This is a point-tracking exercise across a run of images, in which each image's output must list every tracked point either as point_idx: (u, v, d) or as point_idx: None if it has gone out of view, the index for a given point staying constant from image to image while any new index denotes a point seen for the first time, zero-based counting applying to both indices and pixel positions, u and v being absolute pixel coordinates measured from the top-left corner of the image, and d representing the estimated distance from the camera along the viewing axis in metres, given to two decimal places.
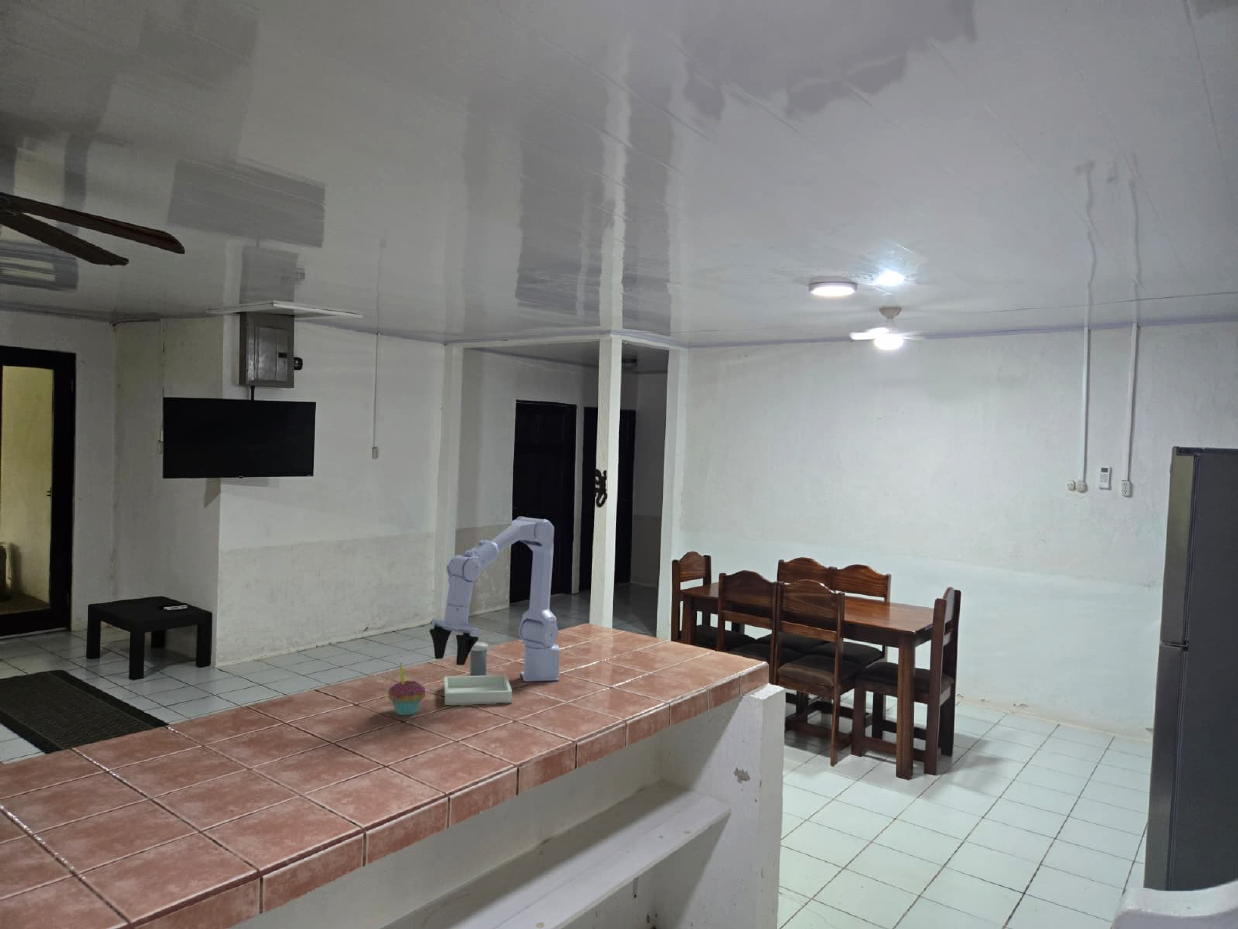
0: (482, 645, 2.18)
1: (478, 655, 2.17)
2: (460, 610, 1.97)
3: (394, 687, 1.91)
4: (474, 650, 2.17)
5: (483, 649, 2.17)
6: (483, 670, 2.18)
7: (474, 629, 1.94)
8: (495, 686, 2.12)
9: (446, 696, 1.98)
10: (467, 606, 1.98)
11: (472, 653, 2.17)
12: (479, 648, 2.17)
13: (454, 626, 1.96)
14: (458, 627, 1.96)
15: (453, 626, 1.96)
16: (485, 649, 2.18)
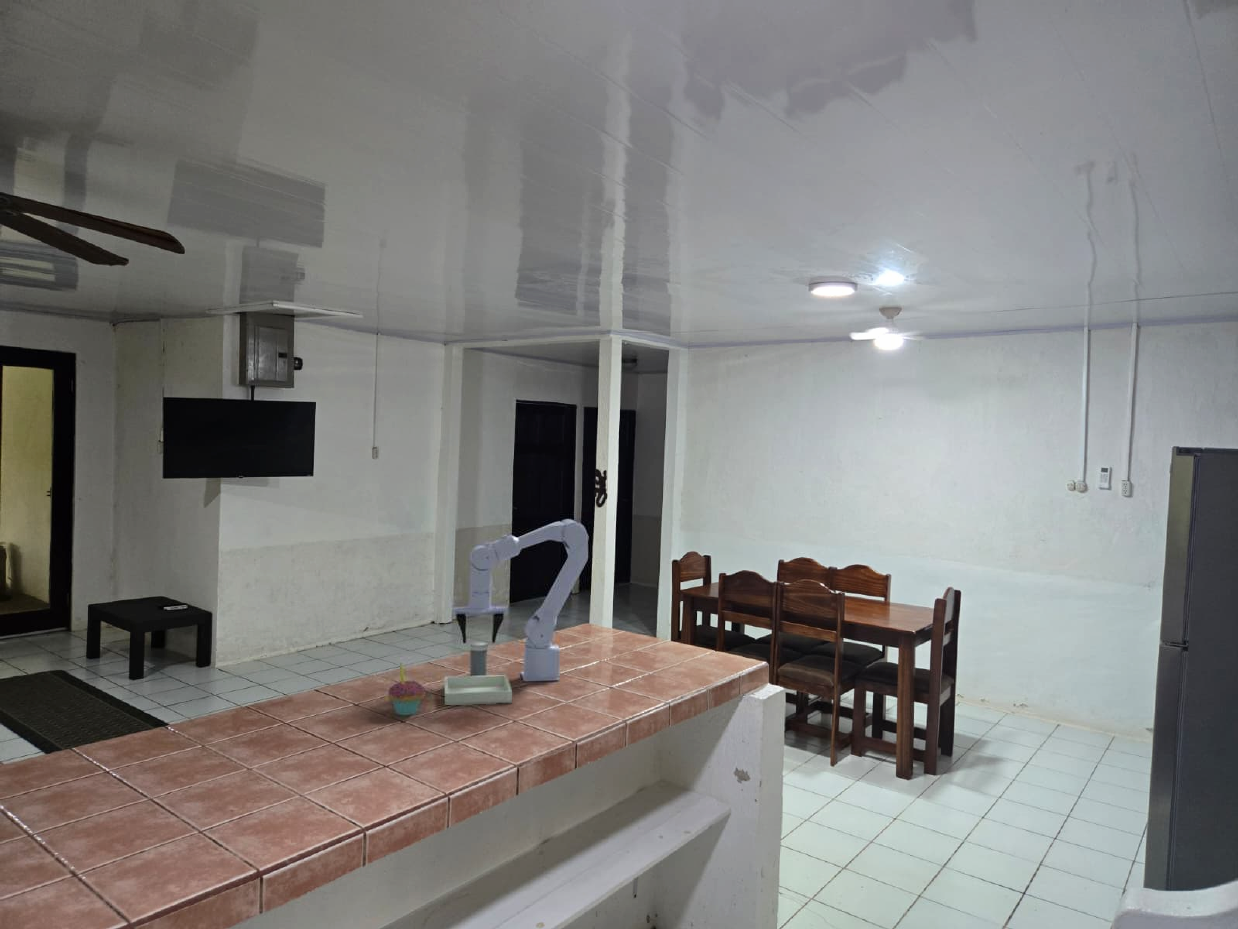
0: (482, 645, 2.18)
1: (478, 655, 2.17)
2: (490, 595, 2.18)
3: (394, 687, 1.91)
4: (474, 650, 2.17)
5: (483, 649, 2.17)
6: (483, 670, 2.18)
7: None
8: (495, 686, 2.12)
9: (446, 696, 1.98)
10: None
11: (472, 653, 2.17)
12: (479, 648, 2.17)
13: (489, 610, 2.17)
14: (493, 610, 2.17)
15: (488, 611, 2.17)
16: (485, 649, 2.18)
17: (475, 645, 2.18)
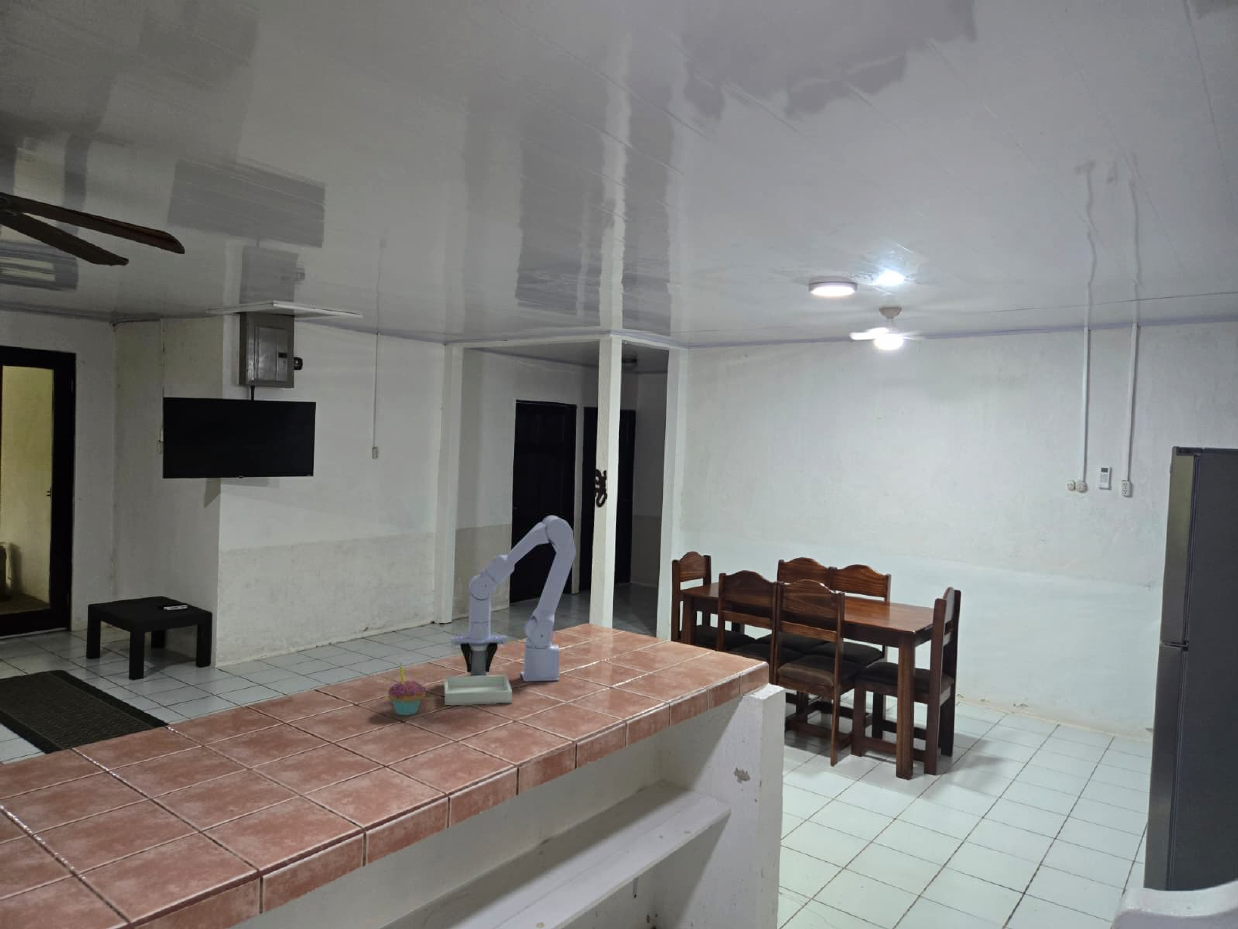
0: (482, 645, 2.18)
1: (478, 655, 2.17)
2: (489, 625, 2.18)
3: (394, 687, 1.91)
4: (474, 650, 2.17)
5: (483, 649, 2.17)
6: (483, 670, 2.18)
7: (506, 638, 2.20)
8: (495, 686, 2.12)
9: (446, 696, 1.98)
10: None
11: (472, 653, 2.17)
12: (479, 648, 2.17)
13: (488, 640, 2.17)
14: (492, 640, 2.18)
15: (487, 640, 2.17)
16: (485, 649, 2.18)
17: (475, 645, 2.18)
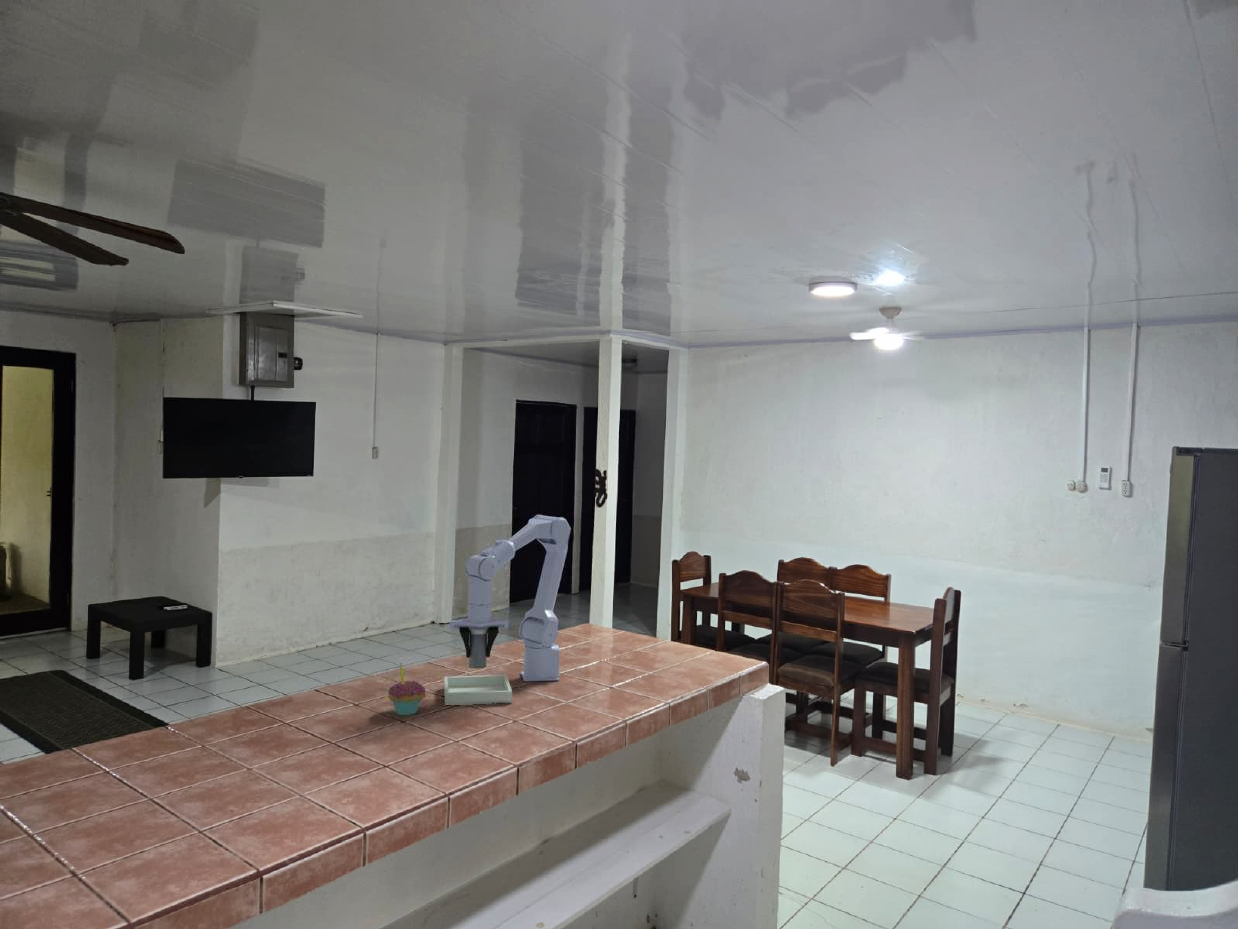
0: (482, 628, 2.07)
1: (478, 638, 2.06)
2: (489, 607, 2.06)
3: (394, 687, 1.91)
4: (473, 633, 2.06)
5: (483, 632, 2.06)
6: (483, 655, 2.07)
7: (507, 621, 2.08)
8: (495, 686, 2.12)
9: (446, 696, 1.98)
10: None
11: (471, 637, 2.06)
12: (479, 631, 2.06)
13: (488, 623, 2.06)
14: (492, 623, 2.06)
15: (487, 624, 2.05)
16: (485, 632, 2.07)
17: (474, 628, 2.07)
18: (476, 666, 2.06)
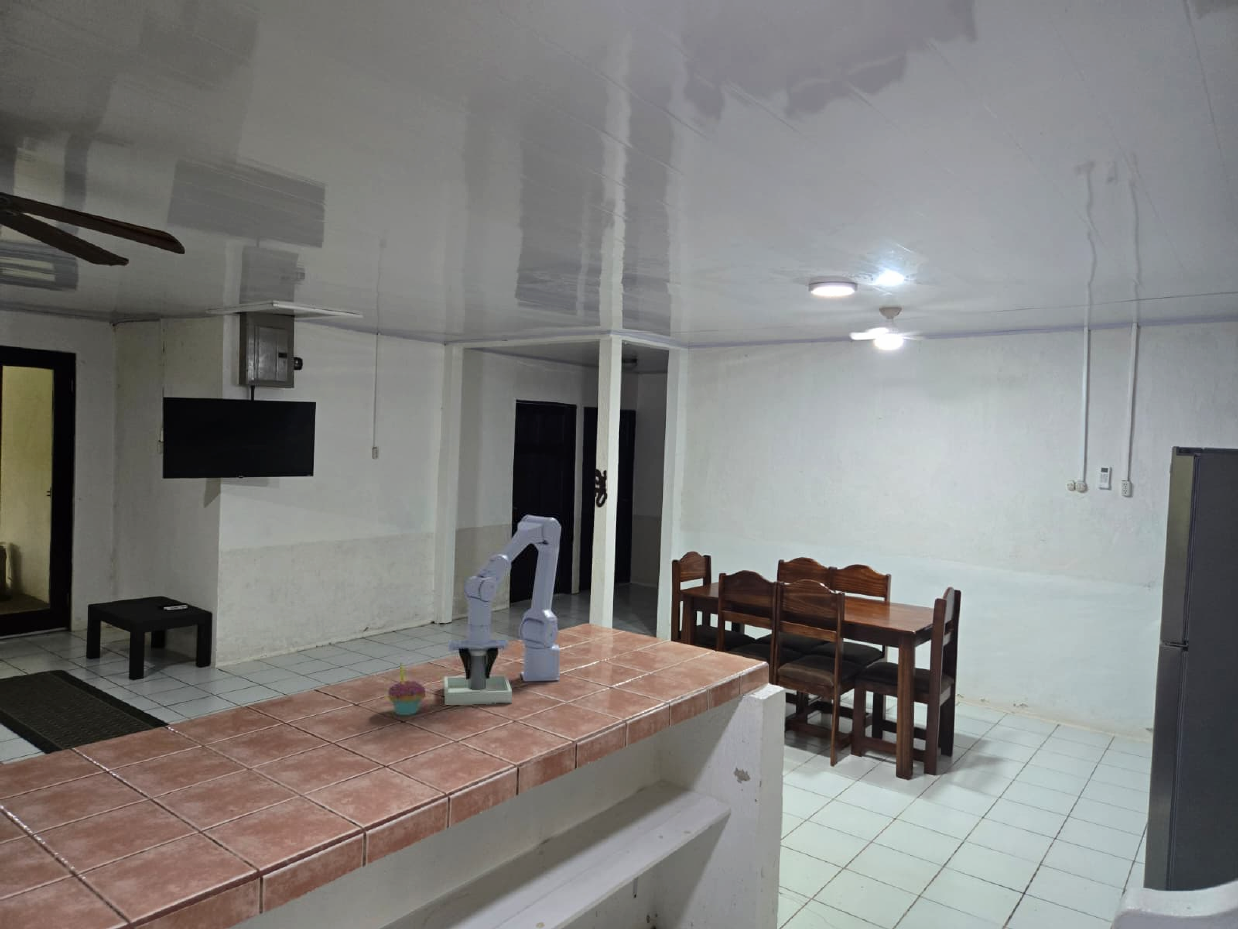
0: (481, 650, 2.06)
1: (477, 660, 2.04)
2: (489, 629, 2.05)
3: (394, 687, 1.91)
4: (473, 655, 2.04)
5: (483, 654, 2.05)
6: (483, 677, 2.05)
7: (507, 642, 2.07)
8: (495, 686, 2.12)
9: (446, 696, 1.98)
10: None
11: (471, 658, 2.05)
12: (478, 653, 2.04)
13: (488, 645, 2.04)
14: (492, 645, 2.05)
15: (487, 645, 2.04)
16: (485, 654, 2.05)
17: (474, 650, 2.05)
18: (476, 688, 2.04)
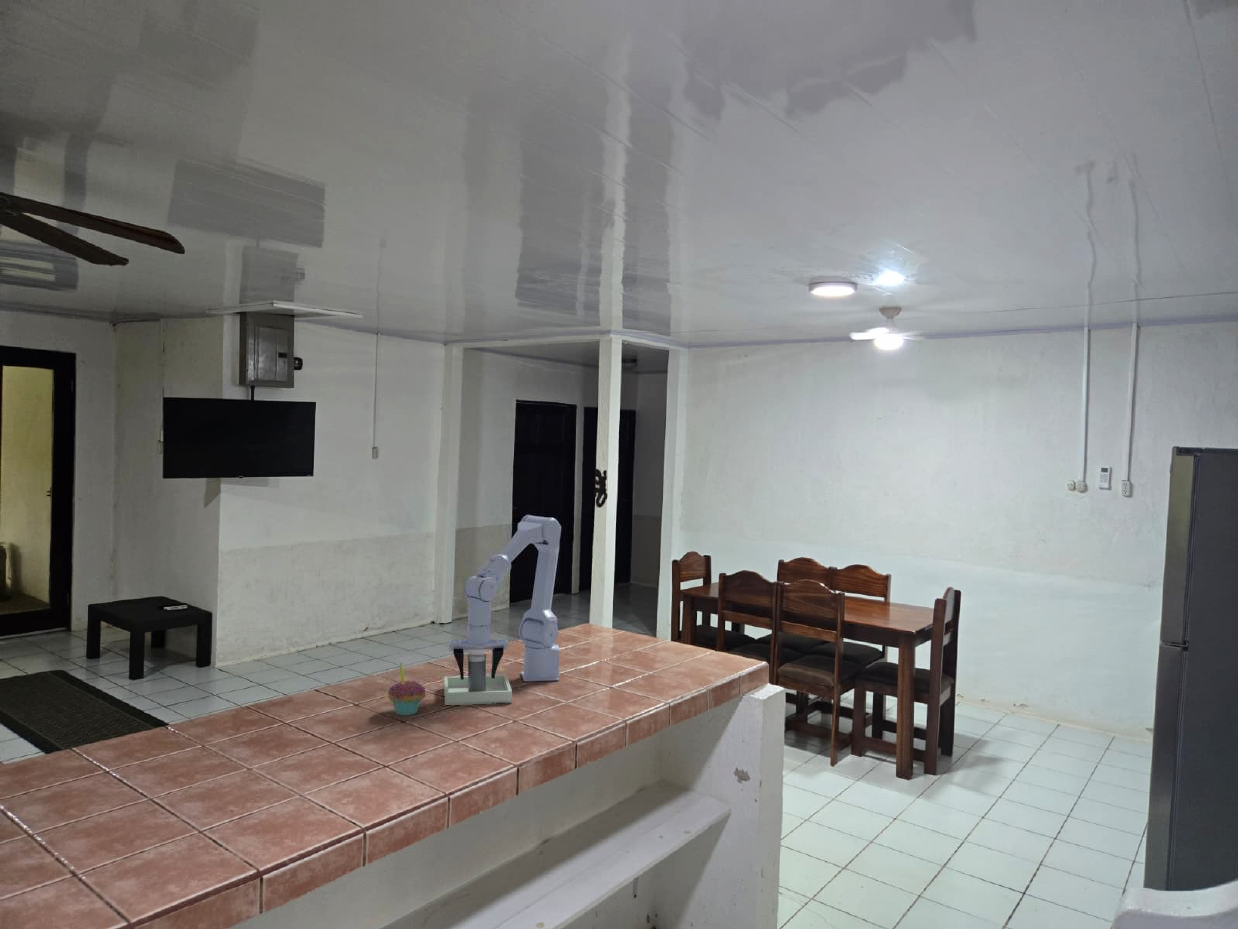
0: (480, 655, 2.05)
1: (476, 666, 2.04)
2: (489, 629, 2.05)
3: (394, 687, 1.91)
4: (472, 661, 2.04)
5: (481, 660, 2.04)
6: (483, 682, 2.05)
7: (507, 642, 2.07)
8: (495, 686, 2.12)
9: (446, 696, 1.98)
10: None
11: (470, 664, 2.04)
12: (477, 659, 2.04)
13: (488, 645, 2.04)
14: (492, 645, 2.05)
15: (487, 645, 2.04)
16: (483, 659, 2.05)
17: (473, 656, 2.05)
18: None
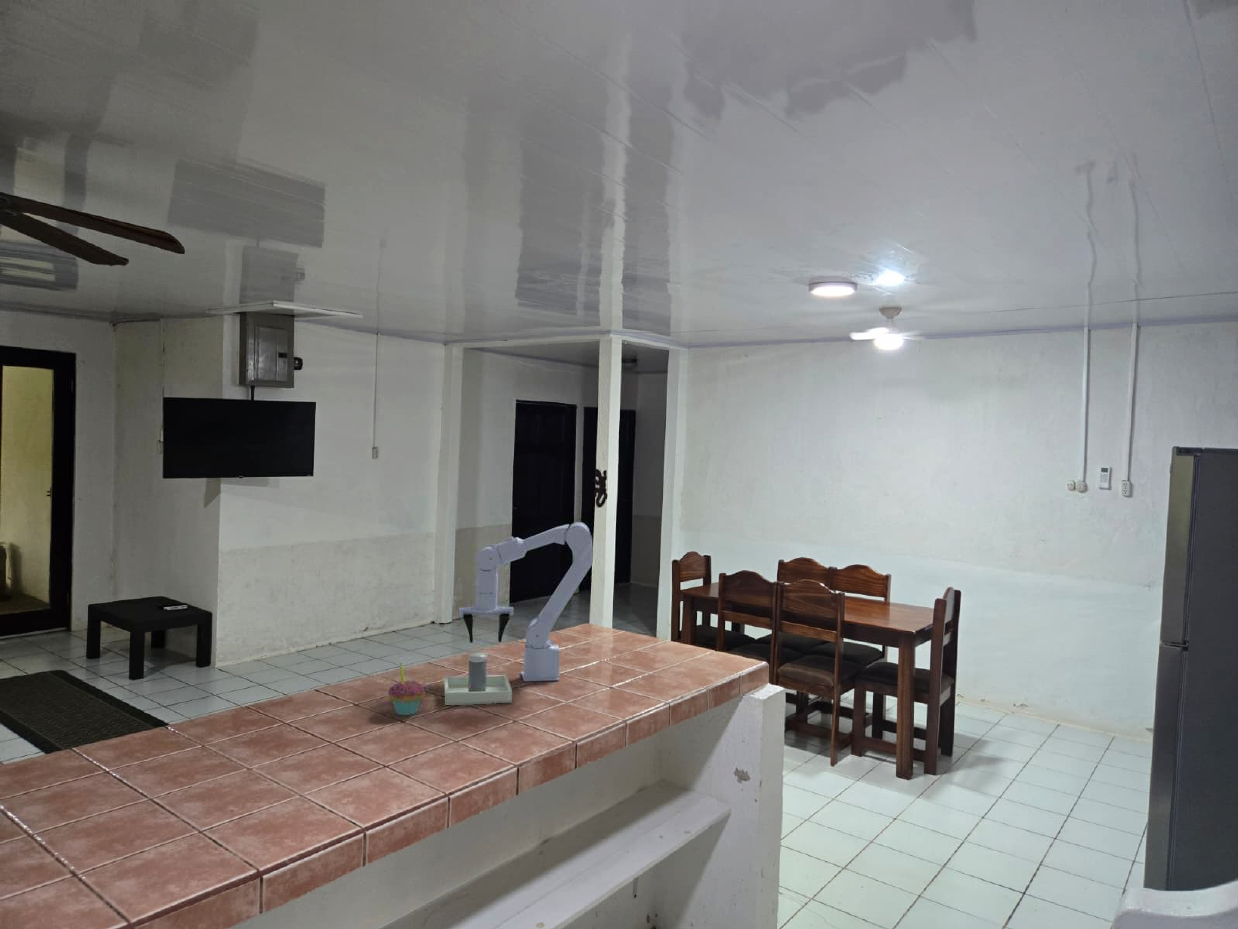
0: (481, 656, 2.05)
1: (477, 666, 2.04)
2: (496, 596, 2.22)
3: (394, 687, 1.91)
4: (473, 661, 2.04)
5: (482, 660, 2.04)
6: (483, 683, 2.05)
7: None
8: (495, 686, 2.12)
9: (446, 696, 1.98)
10: None
11: (471, 664, 2.04)
12: (478, 659, 2.04)
13: (495, 611, 2.21)
14: (499, 610, 2.22)
15: (494, 611, 2.21)
16: (484, 660, 2.05)
17: (474, 656, 2.05)
18: None
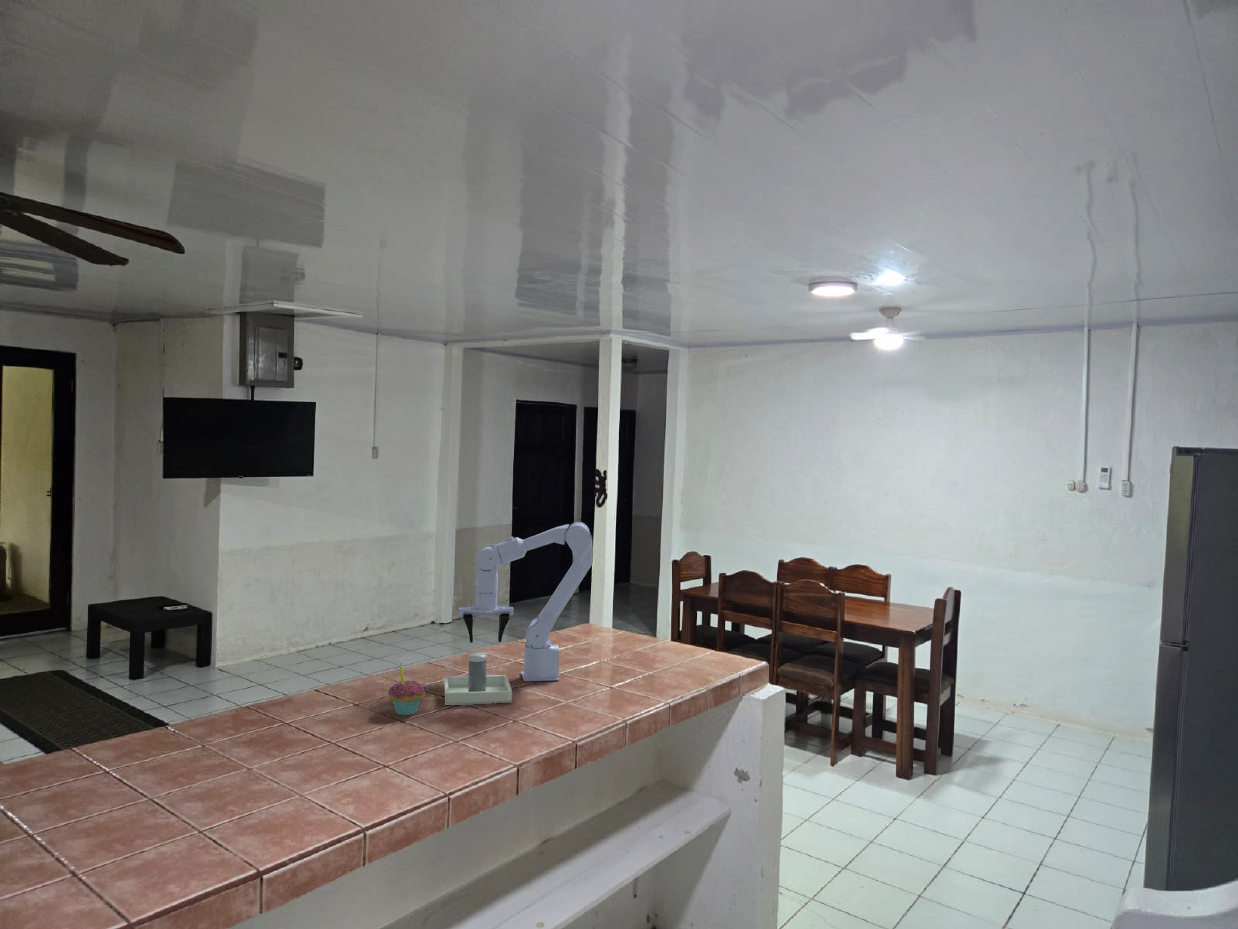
0: (481, 656, 2.05)
1: (477, 666, 2.04)
2: (496, 596, 2.22)
3: (394, 687, 1.91)
4: (473, 661, 2.04)
5: (482, 660, 2.04)
6: (483, 682, 2.05)
7: None
8: (495, 686, 2.12)
9: (446, 696, 1.98)
10: None
11: (470, 664, 2.04)
12: (478, 659, 2.04)
13: (495, 610, 2.21)
14: (499, 610, 2.22)
15: (494, 611, 2.21)
16: (484, 660, 2.05)
17: (474, 656, 2.05)
18: None
